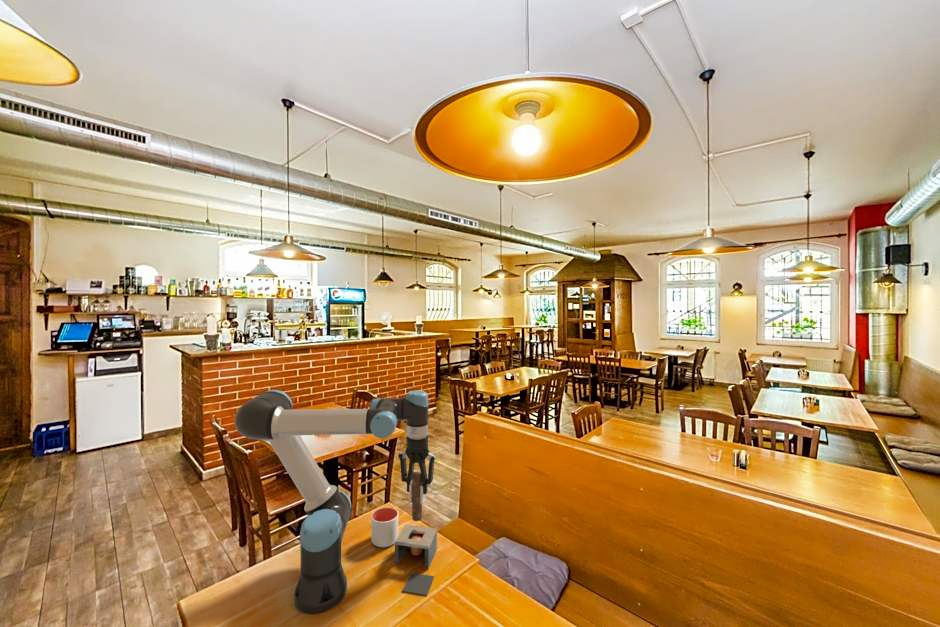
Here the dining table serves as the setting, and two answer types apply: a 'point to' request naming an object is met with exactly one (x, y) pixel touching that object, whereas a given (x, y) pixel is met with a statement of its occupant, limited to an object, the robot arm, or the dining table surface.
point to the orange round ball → (413, 549)
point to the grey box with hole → (416, 542)
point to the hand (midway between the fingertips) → (417, 501)
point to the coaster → (418, 584)
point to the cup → (384, 527)
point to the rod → (416, 496)
